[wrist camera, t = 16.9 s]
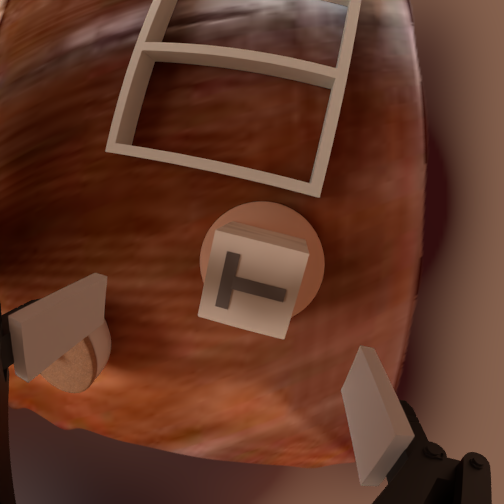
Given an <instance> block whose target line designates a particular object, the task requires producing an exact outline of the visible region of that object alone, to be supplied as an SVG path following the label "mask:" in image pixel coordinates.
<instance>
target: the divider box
mask: <svg viewBox="0 0 504 504" xmlns="http://www.w3.org/2000/svg"><path fill="white" fill-rule="evenodd" d="M177 1H178V0H153V2H152V4H151V7H150V9H149V12H148V14H147V16H146V19H145V21H144V24H143V27H142V29H141V32H140V34H139V37H138V40H137V42H136V45H135V48H134V51H133V54H132V57H131V60H130V63H129V66H128V69H127V72H126V75H125V78H124V81H123V85H122V88H121V91H120V95H119V98H118V102H117V105H116V109H115V113H114V117H113V121H112V124H111V129H110V133H109V137H108V141H107V146H106V150H105V152H111V153H116V154H122V155H128V156H134V157H140V158H145V159H151V160H156V161H162V162H167V163H172V164H177V165H182V166H187V167H192V168H197V169H202V170H206V171H211V172H216V173H220V174H225V175H229V176H234V177H238V178H242V179H247V180H251V181H255V182H259V183H263V184H267V185H271V186H276V187H280V188H283V189H287V190H291V191H295V192H299V193H303V194H307V195H310V196H314V197H318V198H320V194H321V190H322V186H323V182H324V178H325V174H326V170H327V166H328V162H329V157H330V153H331V149H332V145H333V140H334V136H335V132H336V127H337V123H338V118H339V114H340V109H341V104H342V100H343V95H344V90H345V85H346V81H347V76H348V71H349V66H350V61H351V55H352V50H353V45H354V39H355V34H356V28H357V23H358V17H359V11H360V5H361V0H323V1H327V2H331V3H335V4H339V5H343V6H347V7H348V10H347V15H346V20H345V26H344V31H343V36H342V41H341V46H340V51H339V55H338V60H337V65H336V68H333V67H329V66H325V65H321V64H317V63H313V62H309V61H304V60H300V59H295V58H290V57H285V56H280V55H275V54H269V53H264V52H257V51H251V50H244V49H237V48H229V47H221V46H211V45H200V44H186V43H167V42H162V40H163V37H164V34H165V32H166V29H167V26H168V24H169V21H170V18H171V16H172V13H173V11H174V8H175V6H176V3H177ZM155 62H172V63H185V64H195V65H205V66H213V67H221V68H229V69H235V70H242V71H248V72H254V73H260V74H265V75H271V76H276V77H281V78H285V79H290V80H295V81H299V82H303V83H308V84H312V85H316V86H320V87H324V88H328V89H331V93H330V97H329V102H328V106H327V111H326V115H325V120H324V124H323V128H322V133H321V137H320V141H319V145H318V150H317V154H316V158H315V162H314V166H313V170H312V174H311V178H310V182H309V183H307V182H303V181H299V180H296V179H292V178H288V177H284V176H280V175H276V174H272V173H267V172H263V171H259V170H255V169H250V168H246V167H242V166H237V165H233V164H228V163H223V162H219V161H214V160H209V159H204V158H199V157H194V156H189V155H184V154H178V153H173V152H167V151H162V150H156V149H150V148H144V147H138V146H132V142H133V138H134V134H135V130H136V126H137V122H138V118H139V114H140V111H141V107H142V103H143V100H144V96H145V93H146V89H147V86H148V83H149V79H150V76H151V73H152V70H153V67H154V63H155Z"/></svg>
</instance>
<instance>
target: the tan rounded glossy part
mask: <svg viewBox="0 0 504 504" xmlns="http://www.w3.org/2000/svg"><path fill="white" fill-rule="evenodd" d="M232 221H234V222H238V223H242V224H246V225H250V226H254V227H258V228H262V229H266V230H270V231H274V232H278V233H282V234H286V235H290V236H294V237H298V238H301V239H305V240H306V243H307V247H308V251H309V257H308V261H307V264H306V268H305V271H304V275H303V278H302V282H301V285H300V289H299V292H298V296H297V299H296V302H295V306H294V309H293V312H292V316H291V317H293V316H295V315H296V314H298V313H300V312H301V311H302V310H303V309H305V308H306V307H307V306H308V305H309V304H310V302H311V301H312V300H313V298H314V297H315V296H316V294H317V292H318V290H319V288H320V285H321V283H322V280H323V275H324V267H325V262H324V253H323V248H322V245H321V242H320V240H319V238H318V236H317V234H316V232H315V230H314V229H313V227H312V226H311V224H310V223H309V222H308V221H307V220H306V219H305V218H304V217H303V216H302V215H301V214H299V213H298V212H296V211H295V210H293V209H292V208H289V207H287V206H285V205H282V204H279V203H275V202H270V201H257V202H250V203H246V204H242V205H239V206H237V207H234V208H233V209H231V210H229V211H227V212H226V213H224V214H223V215H222V216H221V217H219V218H218V219H217V220H216V221H215V223H214V224H213V225H212V226H211V228H210V229H209V231H208V232H207V234H206V236H205V239H204V241H203V244H202V248H201V253H200V270H201V275H202V279H203V282H205V277H206V272H207V267H208V262H209V258H210V253H211V248H212V243H213V239H214V234H215V230H216V229H218V228H220V227H222V226H224V225H226V224H228V223H230V222H232Z"/></svg>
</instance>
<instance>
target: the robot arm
mask: <svg viewBox="0 0 504 504" xmlns="http://www.w3.org/2000/svg"><path fill="white" fill-rule="evenodd" d="M106 286H107V276H104V275H101V274H98V273H93V274H91V275H89V276H87V277H85V278H83V279H81V280H79V281H77V282H75V283H73V284H70V285H68V286H66V287H64V288H62V289H60V290H58V291H56V292H54V293H52V294H50V295H48V296H46V297H44V298H42V299H36V300H31V301H29V302H27V303H25V304H24V305H21V306H19V307H18V308H15V309H13V310H11V311H9V312H7V313H5V314H3V315H1V305H0V504H16V501H15V494H14V488H13V480H12V472H11V461H10V449H9V432H8V431H9V427H8V393H9V369H8V367H9V366H10V365H12V364H13V363H14V368H15V374H16V375H17V376H18V377H20V378H22V379H23V380H25V381H26V382H28V383H29V382H30V381H31V380H32V379H34V378H35V377H36V376H37V375H39V374H40V373H41V372H42V371H44V370H45V369H46V368H47V367H49V366H50V365H51V364H52V363H54V362H55V361H56V360H57V359H59V358H60V357H61V356H62V355H64V354H65V353H66V352H67V351H69V350H70V349H71V348H73V347H74V346H75V345H76V344H78V343H79V342H80V341H82V340H83V339H84V338H85V337H87V336H88V335H89V334H91V333H92V332H93V331H94V330H96V329H97V328H98V327H100V326H101V325H102V324H104V311H105V297H106ZM341 392H342V397H343V401H344V406H345V410H346V415H347V419H348V424H349V429H350V434H351V439H352V444H353V449H354V454H355V459H356V464H357V469H358V475H359V480H360V485H362V486H363V485H364V486H379V485H380V483H381V482H382V481H383V480H384V478H385V477H387V481H388V485H387V486H386V487H385V489H384V490H383V491H382V492H381V494H380V495H379V496H378V497H377V498H376V499H375V501H374V502H373V503H372V504H492V503H491V502H492V500H491V472H490V465H489V462H488V461H487V459H486V458H485V457H484V456H483V455H481V454H478V453H475V452H470V453H467V454H466V455H465V456H464V457H463V458H462V460H461V461H459V460H455V459H450V458H447V456H446V453H445V451H444V450H443V448H442V447H440V446H439V445H437V444H436V443H433V442H429V441H428V439H427V437H426V435H425V433H424V431H423V429H422V427H421V424H420V423H419V420H418V418H417V417H416V414H415V412H414V410H413V408H412V407H411V406H410V405H409V404H408V403H407V402H406V401H402V400H398V397H397V395H396V393H395V391H394V389H393V387H392V385H391V382H390V380H389V378H388V376H387V374H386V372H385V370H384V368H383V366H382V364H381V362H380V359H379V357H378V355H377V353H376V351H375V349H374V348H371V347H366V346H361V345H360V347H359V349H358V352H357V354H356V357H355V359H354V362H353V364H352V366H351V369H350V371H349V373H348V376H347V378H346V380H345V382H344V385H343V387H342V389H341Z"/></svg>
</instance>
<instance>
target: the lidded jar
mask: <svg viewBox="0 0 504 504" xmlns="http://www.w3.org/2000/svg"><path fill="white" fill-rule="evenodd" d="M110 352H111V336H110V332H109V328H108V325H107V322H106V320H105V318H104V324H102V325H101V326H100V327H98V328H97V329H96V330H94V331H93V332H92V333H91V334H89V335H88V336H87V337H85V338H84V339H83V340H82V341H80V342H79V343H78V344H76V345H75V346H74V347H73V348H71V349H70V350H69V351H67V352H66V353H65V354H64V355H62V356H61V357H60V358H59V359H57V360H56V361H55V362H54V363H52V364H51V365H50V366H49V367H47V368H46V369H45V370H44V371H42V372H41V373H40V374H41V375H42V376H43V377H44V378H45V379H46V380H47V381H48V382H49V383H51V384H52V385H53V386H55V387H57V388H58V389H60V390H63V391H65V392H69V393H80V392H83V391H85V390H86V389H87V388H89V387H90V385H91V384H92V383H93V382H94V380H95V379H96V378H97V377H98V376H99V374H100V373H101V372H102V370H103V369H104V367H105V366H106V364H107V361H108V359H109V356H110Z"/></svg>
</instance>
